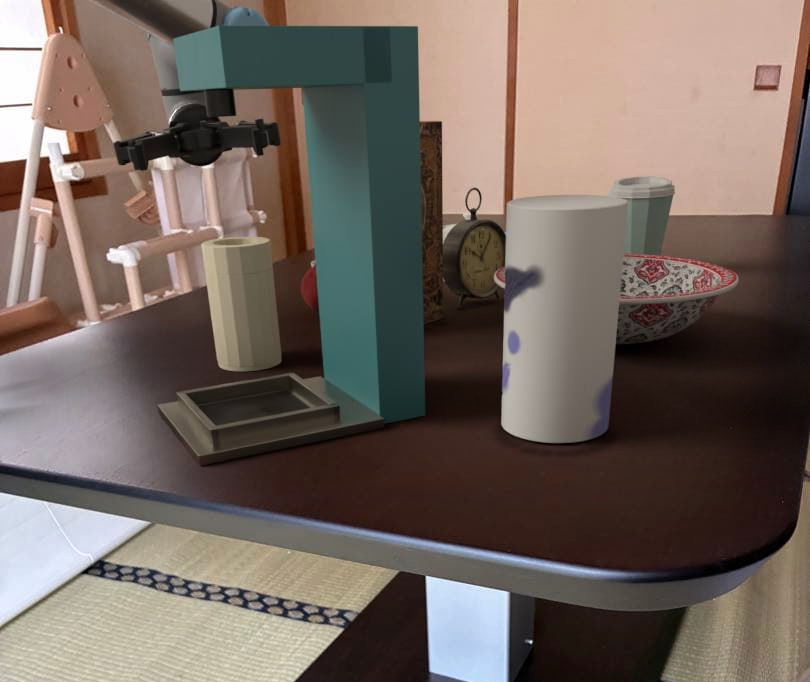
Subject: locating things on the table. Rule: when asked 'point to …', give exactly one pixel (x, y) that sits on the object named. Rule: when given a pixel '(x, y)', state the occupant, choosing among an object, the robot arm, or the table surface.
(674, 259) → the ceramic bowl
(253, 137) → the robot arm
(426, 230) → the book
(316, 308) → the onion
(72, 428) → the table surface
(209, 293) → the cream faceted cup
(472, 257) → the alarm clock
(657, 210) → the disposable coffee cup
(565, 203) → the container
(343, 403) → the coffee station
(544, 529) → the table surface
